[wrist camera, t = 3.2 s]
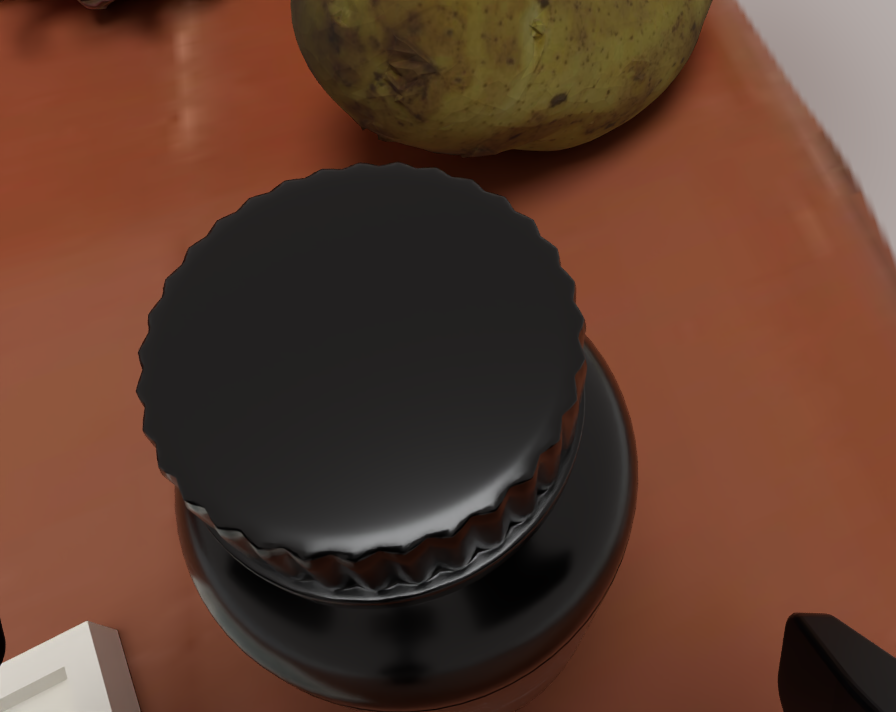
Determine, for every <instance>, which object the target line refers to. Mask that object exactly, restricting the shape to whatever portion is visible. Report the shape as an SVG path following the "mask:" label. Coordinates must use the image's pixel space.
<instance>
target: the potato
mask: <svg viewBox="0 0 896 712" xmlns="http://www.w3.org/2000/svg"><path fill="white" fill-rule="evenodd" d="M711 3H712V0H291V14H292V24H293V28H294V32H295V36H296V40H297V43H298V45H299V48H300V51H301V53H302V55H303V57H304V59H305V61H306V63H307V65H308V67H309V69H310V70H311V72H312V74H313V75H314V77H315V78H316V80H317V81H318V83H319V84H320V85H321V86H322V87H323V89H324V90H325V91H326V92H327V94H328V95H329V96H330V97H331V98H332V99H333V100H334V101H335V102H336V103H337V104H338V105H339V106H340V107H341V108H342V109H343V110H344V111H345V112H347V113H348V114H349V115H350V116H351V117H352V118H353V119H354V120H355V121H356V122H357V123H358V124H359V125H360V126H361V128H362V130H364V129H366V128H367V129H369V130H371V131H372V132H374V133H376V134H378V140H382V141H386V142H399V143H402V144H405V145H409V146H413V147H417V148H421V149H425V150H427V151H430V152H433V153H444V154H450V155H461V157H462V158H464V157H480V156H486V155H497V154H498V153H500V152H503V151H507V150H510V149H518V150H531V151H556V150H562V149H567V148H571V147H575V146H578V145H581V144H583V143H586V142H589V141H592V140H594V139H596V138H598V137H600V136H602V135H604V134H606V133H608V132H609V131H611V130H613V129H615V128H617V127H618V126H620V125H622V124H624V123H625V122H627V121H628V120H630V119H632V118H633V117H634V116H636V115H637V114H638V113H639V112H641V111H642V110H643V109H645V108H646V107H647V106H648V105H649V104H651V103H652V102H653V101H654V100H655V99H656V98H657V97H658V96H659V95H660V94H661V93H663V92H664V91H665V90H666V88H667V87H668V86H669V85H670V84H671V82H672V81H673V80H674V79H675V78H676V76H677V75H678V74H679V72H680V71H681V69H682V68H683V66H684V65H685V63H686V62H687V60H688V59H689V57H690V55H691V53H692V51H693V49H694V47H695V45H696V43H697V40H698V37H699V34H700V31H701V28H702V25H703V22H704V20H705V18H706V15H707V13H708V10H709V8H710V5H711Z"/></svg>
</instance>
